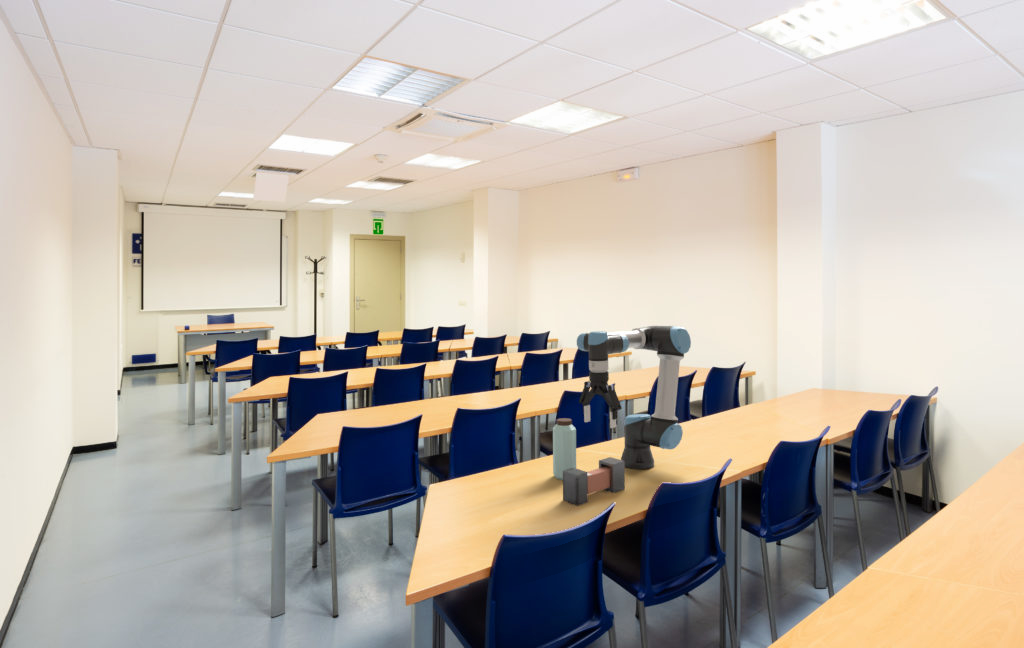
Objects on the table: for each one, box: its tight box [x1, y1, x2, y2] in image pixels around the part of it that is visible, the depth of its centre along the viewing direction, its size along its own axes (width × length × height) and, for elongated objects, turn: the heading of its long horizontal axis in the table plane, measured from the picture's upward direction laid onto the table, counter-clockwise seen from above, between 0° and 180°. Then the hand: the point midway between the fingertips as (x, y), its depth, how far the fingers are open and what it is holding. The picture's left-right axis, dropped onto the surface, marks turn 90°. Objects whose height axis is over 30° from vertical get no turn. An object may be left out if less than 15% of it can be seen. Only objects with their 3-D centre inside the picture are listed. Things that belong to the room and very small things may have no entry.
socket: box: [562, 467, 589, 506], centre depth 207 cm, size 6×7×12 cm
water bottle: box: [552, 417, 577, 481], centre depth 236 cm, size 10×10×25 cm
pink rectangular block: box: [586, 466, 611, 495], centre depth 216 cm, size 18×4×7 cm, turn 129°
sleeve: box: [598, 456, 626, 494], centre depth 220 cm, size 7×7×12 cm
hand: (600, 424), depth 215 cm, fingers open, 13 cm apart
